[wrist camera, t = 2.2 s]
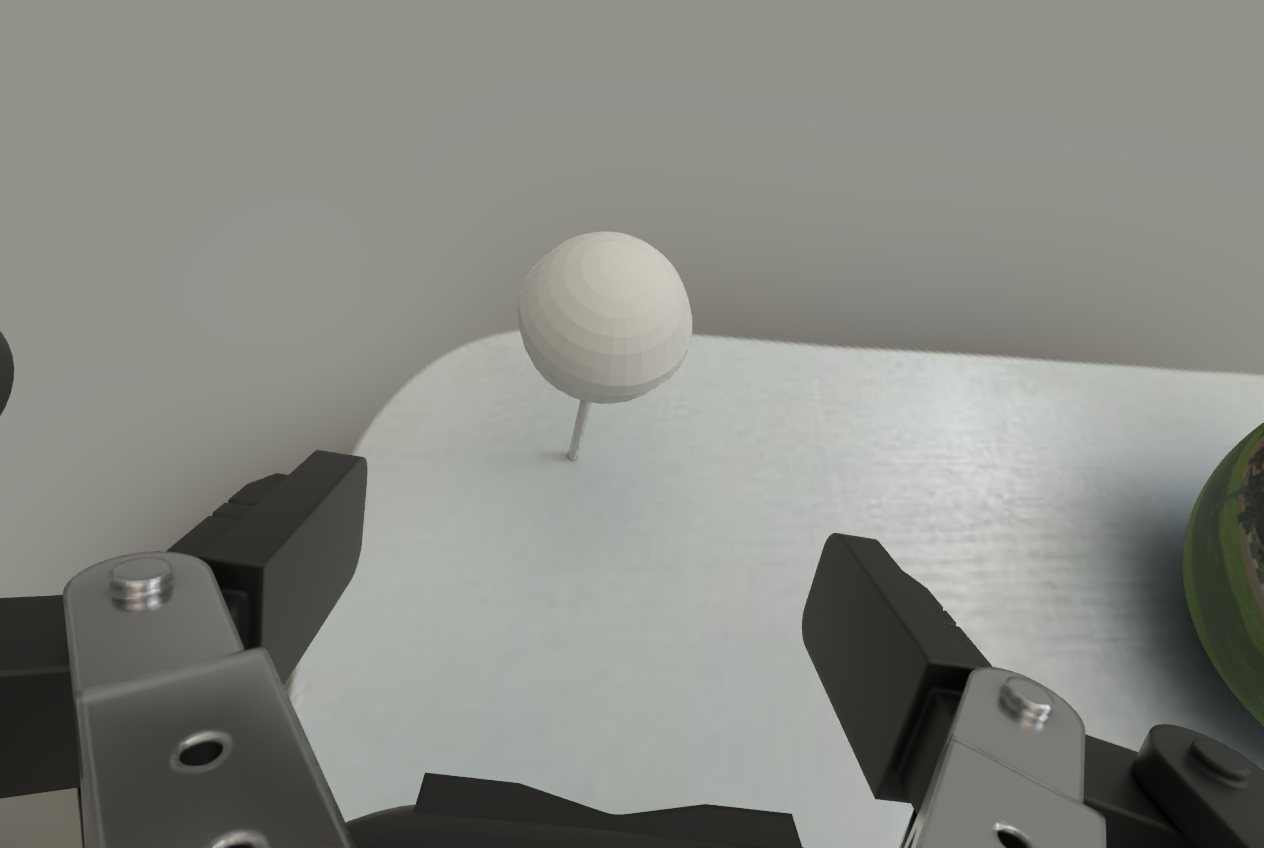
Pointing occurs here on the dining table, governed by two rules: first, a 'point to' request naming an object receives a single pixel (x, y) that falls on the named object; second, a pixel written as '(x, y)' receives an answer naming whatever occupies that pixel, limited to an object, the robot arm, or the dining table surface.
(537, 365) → the lollipop
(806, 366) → the dining table surface
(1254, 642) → the decorative sphere
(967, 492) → the dining table surface
